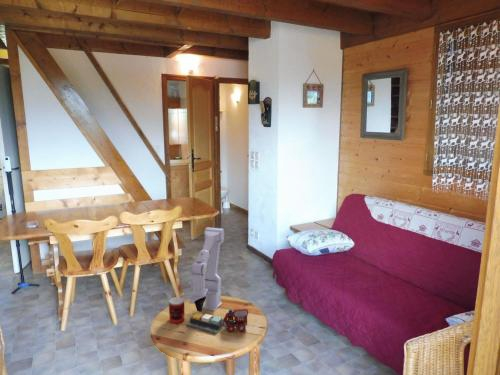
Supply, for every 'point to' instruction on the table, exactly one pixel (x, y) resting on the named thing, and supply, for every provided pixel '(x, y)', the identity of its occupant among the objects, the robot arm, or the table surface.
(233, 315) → the toy fire truck
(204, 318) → the cream button
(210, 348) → the table surface
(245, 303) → the table surface
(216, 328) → the button panel
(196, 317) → the amber button
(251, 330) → the table surface
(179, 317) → the canned food
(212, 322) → the teal button
